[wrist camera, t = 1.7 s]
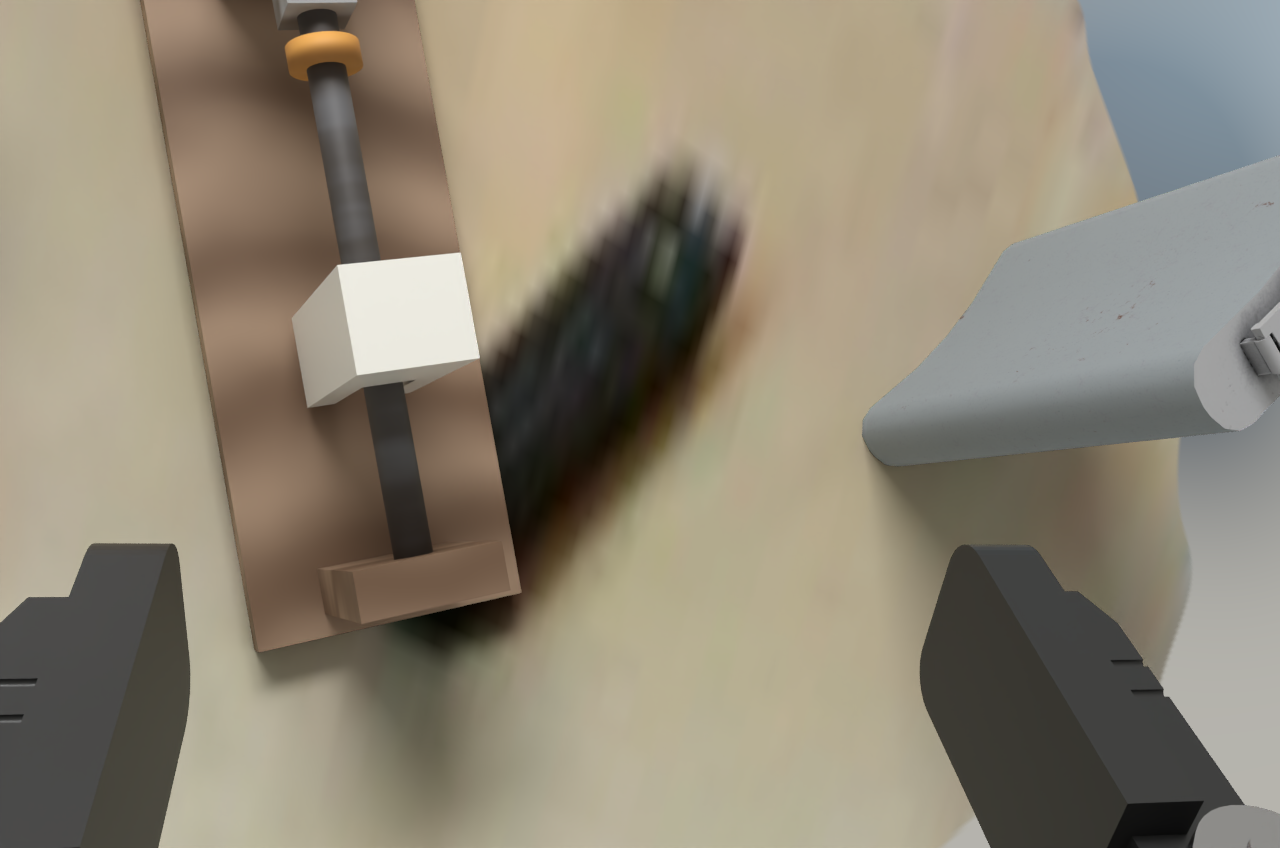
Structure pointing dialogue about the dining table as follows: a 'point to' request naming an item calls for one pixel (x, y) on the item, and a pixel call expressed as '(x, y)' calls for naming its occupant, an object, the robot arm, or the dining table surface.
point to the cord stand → (284, 280)
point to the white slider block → (384, 326)
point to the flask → (1107, 333)
